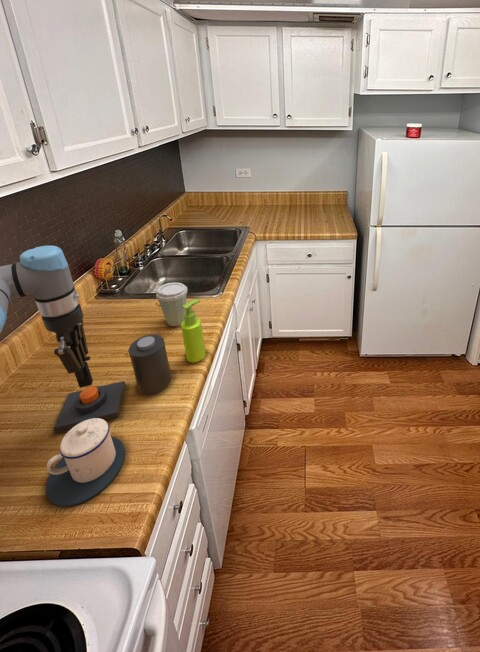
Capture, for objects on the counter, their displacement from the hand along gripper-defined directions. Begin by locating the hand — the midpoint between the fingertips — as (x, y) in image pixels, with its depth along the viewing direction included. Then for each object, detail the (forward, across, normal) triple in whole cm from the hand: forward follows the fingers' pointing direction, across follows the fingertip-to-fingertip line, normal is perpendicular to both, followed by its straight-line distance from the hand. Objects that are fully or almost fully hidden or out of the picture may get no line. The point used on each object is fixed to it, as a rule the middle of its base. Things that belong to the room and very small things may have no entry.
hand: (86, 384), depth 87 cm
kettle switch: (+5, 0, 0) cm, 5 cm away
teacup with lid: (+8, -18, -3) cm, 20 cm away
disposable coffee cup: (+9, +33, -20) cm, 39 cm away
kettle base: (+8, 0, 0) cm, 8 cm away
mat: (+8, -18, -3) cm, 20 cm away
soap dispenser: (+9, +12, -27) cm, 31 cm away
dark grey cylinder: (+9, +4, -15) cm, 18 cm away
